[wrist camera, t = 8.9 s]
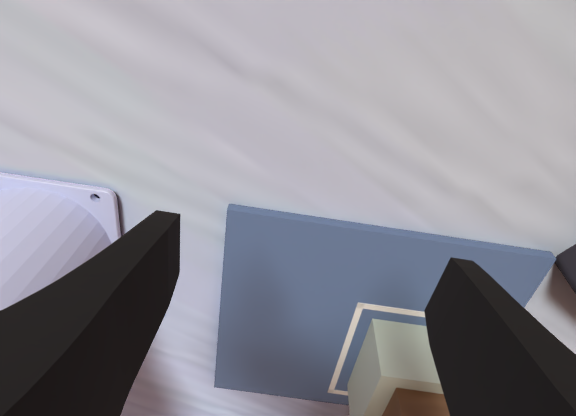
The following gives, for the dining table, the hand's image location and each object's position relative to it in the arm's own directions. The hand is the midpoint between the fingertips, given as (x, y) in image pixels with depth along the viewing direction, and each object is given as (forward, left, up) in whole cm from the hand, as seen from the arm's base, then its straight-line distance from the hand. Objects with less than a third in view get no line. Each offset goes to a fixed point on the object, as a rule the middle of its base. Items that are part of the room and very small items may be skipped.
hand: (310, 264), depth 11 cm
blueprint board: (+5, -13, -10) cm, 17 cm away
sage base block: (+9, -15, -9) cm, 20 cm away
